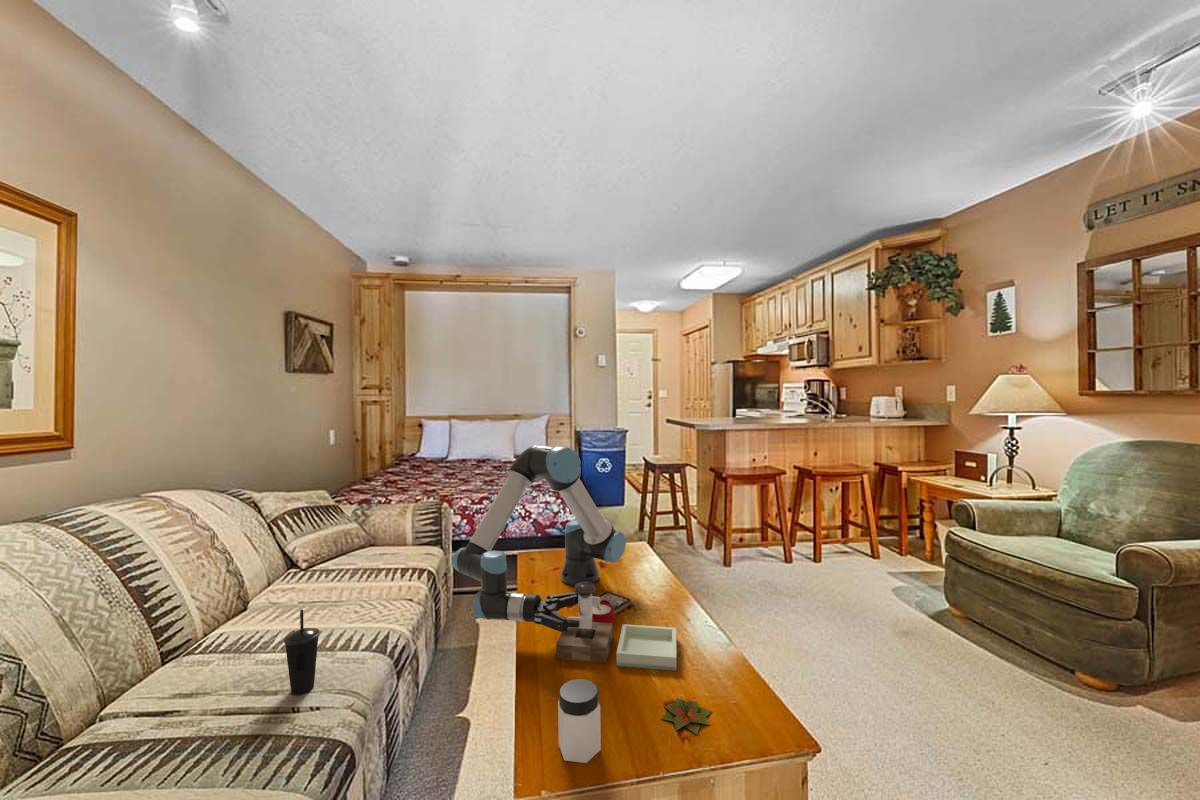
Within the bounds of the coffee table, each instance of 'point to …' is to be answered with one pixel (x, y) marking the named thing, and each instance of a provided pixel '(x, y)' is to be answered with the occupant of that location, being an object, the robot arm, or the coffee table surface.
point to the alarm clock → (603, 613)
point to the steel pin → (585, 605)
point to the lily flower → (686, 714)
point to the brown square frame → (586, 644)
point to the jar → (579, 720)
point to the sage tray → (647, 647)
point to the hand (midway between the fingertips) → (596, 612)
